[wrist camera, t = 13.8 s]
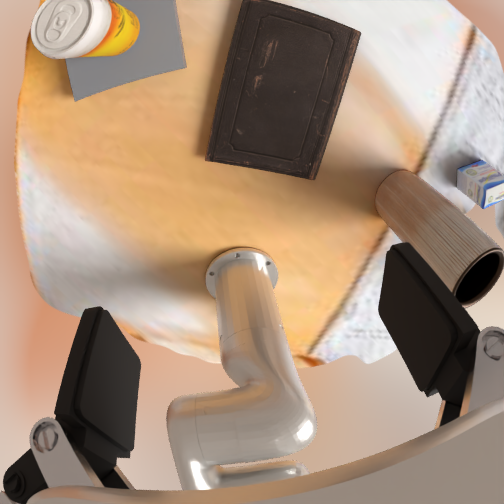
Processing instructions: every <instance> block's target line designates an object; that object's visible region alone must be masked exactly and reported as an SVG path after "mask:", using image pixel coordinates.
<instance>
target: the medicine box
mask: <svg viewBox="0 0 504 504" xmlns="http://www.w3.org/2000/svg"><path fill="white" fill-rule="evenodd" d="M457 188H458V189H459V190H460V191H461V192H463V193H464V194H465V195H467V196H468V197H469V198H470V199H471V200H473V201H474V202H475V203H476V204H477V205H479V206H480V207H481V208H482V209H485V208H487V207H489V206H491V205H493V204H495V203H497V202H500V201H502V200H504V174H502V173H501V172H499V171H498V170H496V169H495V168H494V167H492V166H490V165H489V164H487V163H486V162H485V161H483V160H481V161H478V162H475V163H473V164H470V165H467V166H465V167H462V168H459V169H457Z"/></svg>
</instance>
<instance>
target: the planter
mask: <svg viewBox="0 0 504 504" xmlns="http://www.w3.org/2000/svg"><path fill="white" fill-rule="evenodd" d="M375 206H376V210H377V212H378V214H379V215H380V216H381V218H382V219H383V220H384V221H385V222H386V224H387V225H388V226H389V227H390V228H391V229H392V230H393V232H394V233H395V234H396V235H397V236H398V237H399V239H400V240H401V241H402V242H409V243H410V244H411V245H412V246H413V247H414V248H415V250H416V251H417V252H418V253H419V254H420V255H421V256H422V257H423V259H424V260H425V261H426V262H427V263H428V264H429V265H430V267H431V268H432V269H433V270H434V271H435V272H436V274H437V275H438V276H439V277H440V278H441V280H442V281H443V282H444V283H445V285H446V286H447V287H448V288H449V289H450V291H451V292H452V293H453V294H454V296H455V297H456V298H457V299H458V301H459V302H460V303H461V305H462V306H463V307H464V308H467V307H470V306H472V305H474V304H475V303H477V302H478V301H479V300H481V299H482V298H483V297H484V296H485V295H486V294H487V293H488V292H489V291H490V290H491V289H492V287H493V286H494V285H495V283H496V282H497V280H498V279H499V277H500V275H501V273H502V270H503V267H504V251H503V250H502V249H501V248H500V247H499V246H498V245H497V244H496V243H495V242H494V241H493V240H492V239H491V238H490V237H489V236H488V235H487V234H486V233H485V232H484V231H483V230H482V229H481V228H480V227H479V226H478V225H477V224H476V223H474V222H473V221H472V220H471V219H470V218H469V217H468V216H467V215H465V214H464V213H463V212H462V211H461V210H460V209H459V208H457V207H456V206H455V205H454V204H453V203H452V202H450V201H449V200H448V199H447V198H445V197H444V196H443V195H442V194H441V193H439V192H438V191H437V190H436V189H434V188H433V187H432V186H430V185H429V184H428V183H427V182H425V181H424V180H423V179H421V178H420V177H419V176H417V175H416V174H414V173H413V172H411V171H407V170H401V171H397V172H394V173H392V174H391V175H389V176H388V177H387V178H386V179H385V180H384V181H383V182H382V183H381V185H380V187H379V188H378V191H377V194H376V198H375Z"/></svg>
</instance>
